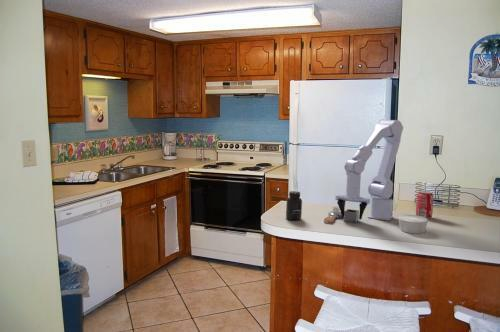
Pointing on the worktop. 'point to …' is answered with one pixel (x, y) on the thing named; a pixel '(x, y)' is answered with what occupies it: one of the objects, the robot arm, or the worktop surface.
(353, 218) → the socket
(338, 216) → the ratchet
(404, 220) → the ramekin
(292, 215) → the supplement bottle
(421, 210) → the soda can
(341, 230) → the worktop surface
